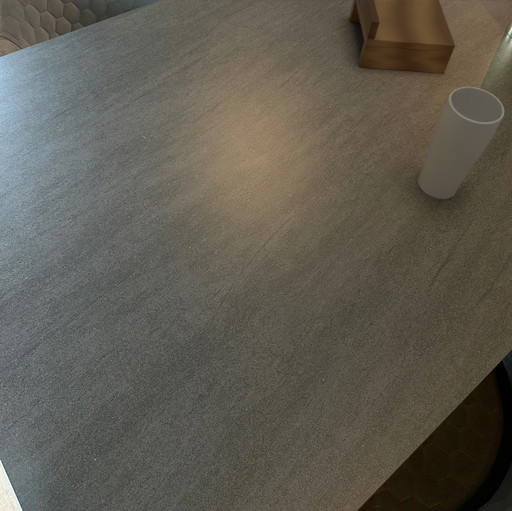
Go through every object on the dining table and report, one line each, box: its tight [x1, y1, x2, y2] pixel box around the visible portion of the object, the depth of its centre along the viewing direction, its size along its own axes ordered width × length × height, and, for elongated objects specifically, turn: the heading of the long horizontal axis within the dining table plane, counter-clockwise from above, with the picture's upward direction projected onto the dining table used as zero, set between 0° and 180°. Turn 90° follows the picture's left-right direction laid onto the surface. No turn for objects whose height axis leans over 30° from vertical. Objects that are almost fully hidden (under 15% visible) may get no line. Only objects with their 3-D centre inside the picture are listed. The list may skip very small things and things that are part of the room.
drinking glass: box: [417, 86, 505, 200], centre depth 79 cm, size 7×7×15 cm
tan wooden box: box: [348, 0, 456, 74], centre depth 101 cm, size 14×14×8 cm
